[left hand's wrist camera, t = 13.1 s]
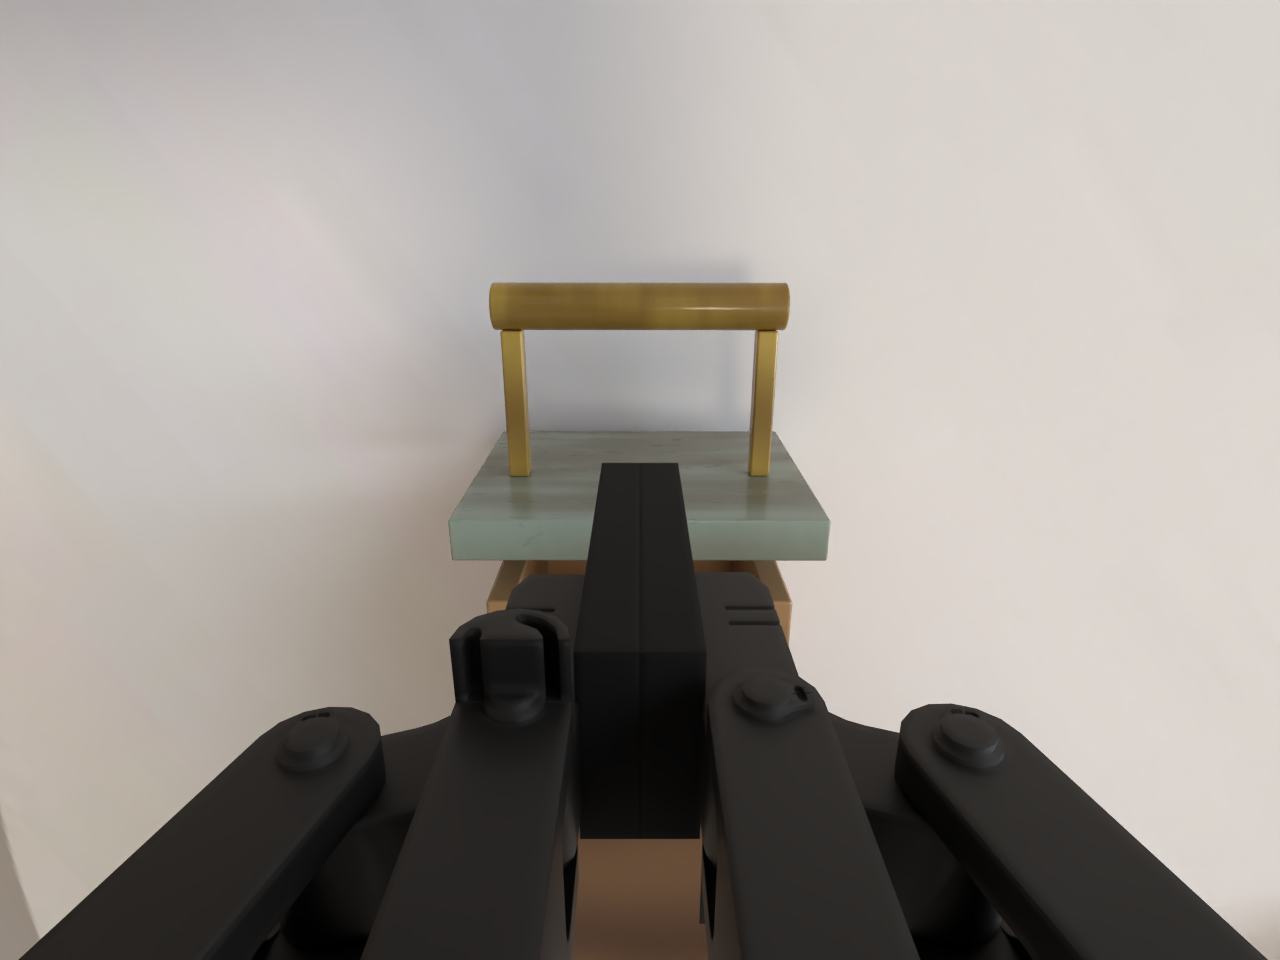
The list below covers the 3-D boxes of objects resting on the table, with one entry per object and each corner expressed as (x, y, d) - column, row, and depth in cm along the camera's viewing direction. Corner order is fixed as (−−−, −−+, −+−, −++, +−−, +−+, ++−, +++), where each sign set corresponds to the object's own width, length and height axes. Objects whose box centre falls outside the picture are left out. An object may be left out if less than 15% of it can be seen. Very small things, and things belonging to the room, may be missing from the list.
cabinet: (506, 624, 31) (446, 809, 21) (772, 625, 31) (832, 810, 21) (530, 965, 38) (493, 1219, 28) (747, 965, 38) (784, 1219, 28)
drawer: (492, 270, 25) (425, 296, 17) (786, 270, 25) (853, 297, 17) (529, 831, 34) (496, 1018, 26) (748, 831, 34) (781, 1019, 26)
